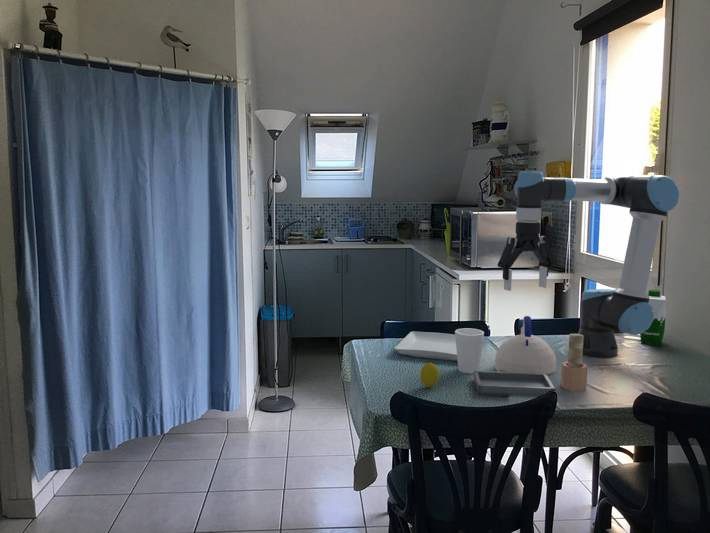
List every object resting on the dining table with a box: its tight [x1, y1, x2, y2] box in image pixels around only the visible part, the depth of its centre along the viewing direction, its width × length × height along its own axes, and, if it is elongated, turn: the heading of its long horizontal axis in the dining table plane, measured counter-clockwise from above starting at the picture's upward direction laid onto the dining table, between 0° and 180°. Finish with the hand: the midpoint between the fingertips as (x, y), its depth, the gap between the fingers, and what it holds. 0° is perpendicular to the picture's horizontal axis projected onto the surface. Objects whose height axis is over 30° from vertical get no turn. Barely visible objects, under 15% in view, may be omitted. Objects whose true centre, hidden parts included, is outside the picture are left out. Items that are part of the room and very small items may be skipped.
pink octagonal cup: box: [560, 360, 589, 392], centre depth 192 cm, size 7×7×8 cm
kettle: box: [493, 315, 557, 375], centre depth 212 cm, size 20×21×18 cm
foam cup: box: [454, 327, 485, 374], centre depth 210 cm, size 10×9×13 cm
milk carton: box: [639, 289, 667, 346], centre depth 246 cm, size 9×9×20 cm
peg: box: [567, 333, 584, 367], centre depth 191 cm, size 4×4×16 cm
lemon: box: [420, 361, 440, 389], centre depth 193 cm, size 6×6×8 cm
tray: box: [473, 370, 556, 398], centre depth 193 cm, size 22×14×3 cm, turn 84°
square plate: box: [393, 331, 458, 362], centre depth 233 cm, size 27×27×4 cm
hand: (525, 288), depth 202 cm, fingers open, 13 cm apart
